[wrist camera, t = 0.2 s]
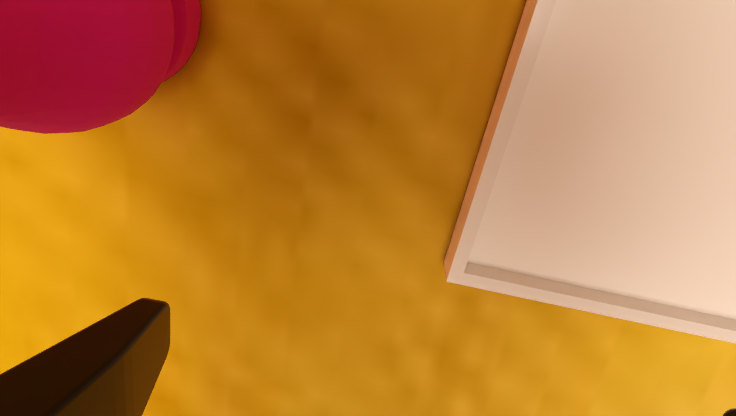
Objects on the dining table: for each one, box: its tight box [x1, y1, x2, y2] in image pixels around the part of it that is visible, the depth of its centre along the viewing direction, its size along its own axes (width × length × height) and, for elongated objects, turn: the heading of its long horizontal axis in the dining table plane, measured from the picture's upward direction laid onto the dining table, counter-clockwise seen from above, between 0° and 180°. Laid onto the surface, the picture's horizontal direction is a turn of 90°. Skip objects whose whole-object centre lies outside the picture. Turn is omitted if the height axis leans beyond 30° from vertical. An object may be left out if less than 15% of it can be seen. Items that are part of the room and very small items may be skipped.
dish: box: [444, 0, 736, 343], centre depth 20 cm, size 14×14×2 cm
